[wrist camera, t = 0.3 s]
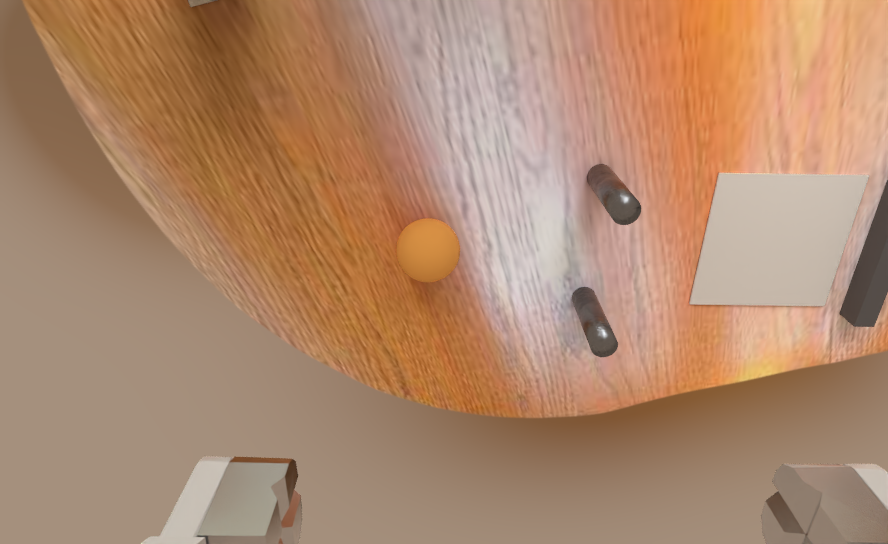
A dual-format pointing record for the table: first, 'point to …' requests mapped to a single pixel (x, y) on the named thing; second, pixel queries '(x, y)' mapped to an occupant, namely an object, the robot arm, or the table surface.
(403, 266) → the ball
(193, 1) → the condiment
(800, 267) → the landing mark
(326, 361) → the table surface
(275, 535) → the robot arm
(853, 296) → the wall
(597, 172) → the post
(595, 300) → the post
